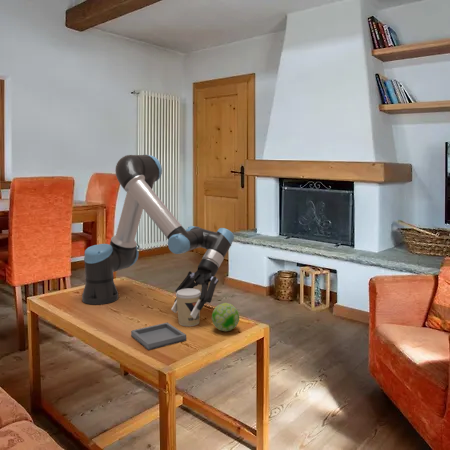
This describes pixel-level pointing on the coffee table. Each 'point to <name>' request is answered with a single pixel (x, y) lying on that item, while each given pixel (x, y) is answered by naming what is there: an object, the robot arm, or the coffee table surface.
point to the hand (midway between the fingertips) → (182, 313)
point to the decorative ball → (225, 317)
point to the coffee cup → (187, 306)
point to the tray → (158, 336)
